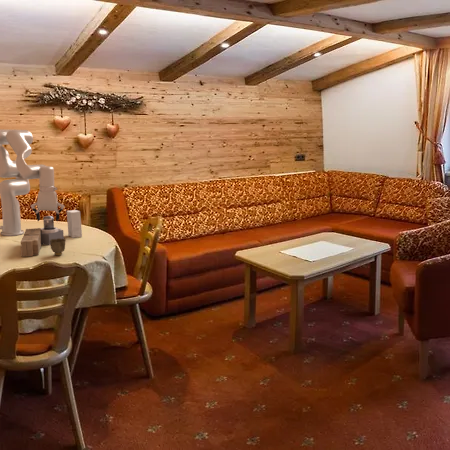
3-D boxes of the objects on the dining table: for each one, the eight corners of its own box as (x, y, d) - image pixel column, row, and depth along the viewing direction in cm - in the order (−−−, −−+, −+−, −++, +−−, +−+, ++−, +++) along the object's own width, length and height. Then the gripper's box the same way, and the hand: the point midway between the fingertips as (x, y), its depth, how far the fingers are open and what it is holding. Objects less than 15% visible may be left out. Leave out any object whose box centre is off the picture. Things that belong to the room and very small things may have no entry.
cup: (52, 253, 253) (51, 237, 252) (67, 253, 254) (67, 237, 252) (48, 257, 246) (48, 241, 244) (64, 257, 247) (63, 241, 245)
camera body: (35, 243, 273) (34, 230, 271) (50, 239, 284) (49, 226, 282) (49, 245, 270) (48, 231, 268) (63, 240, 281) (63, 227, 279)
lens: (44, 230, 278) (44, 215, 276) (54, 230, 279) (54, 215, 277) (42, 232, 272) (42, 217, 270) (53, 232, 273) (52, 217, 271)
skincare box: (82, 237, 290) (81, 211, 288) (71, 238, 287) (70, 212, 284) (77, 234, 297) (76, 209, 294) (67, 235, 294) (66, 210, 291)
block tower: (38, 257, 247) (42, 242, 275) (37, 240, 246) (41, 227, 273) (21, 258, 245) (26, 242, 273) (20, 241, 243) (25, 227, 271)
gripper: (64, 188, 276) (65, 219, 280) (31, 188, 273) (32, 218, 277) (62, 190, 269) (63, 222, 273) (28, 190, 266) (29, 221, 270)
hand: (48, 220), depth 275 cm, fingers open, 9 cm apart
